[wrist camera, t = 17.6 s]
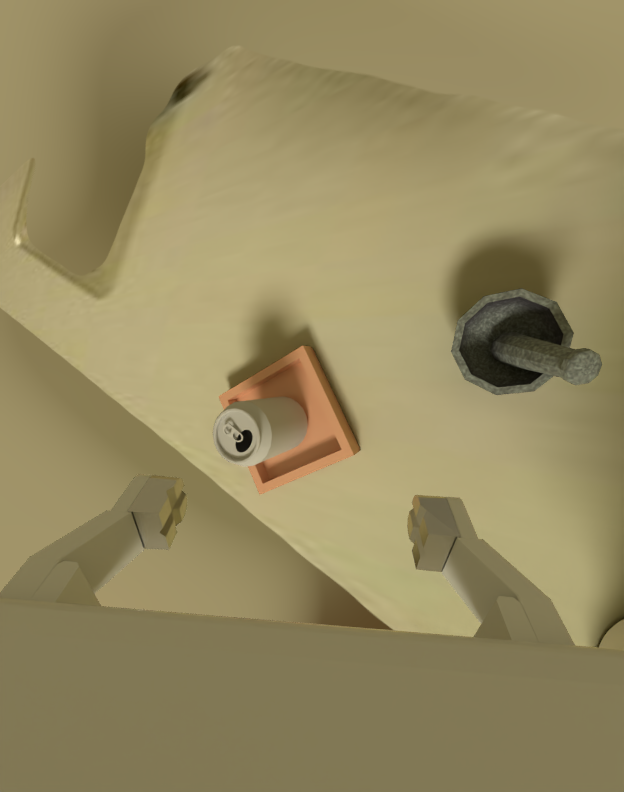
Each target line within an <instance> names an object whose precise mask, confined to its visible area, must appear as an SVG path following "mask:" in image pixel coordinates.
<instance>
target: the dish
mask: <svg viewBox="0 0 624 792" xmlns="http://www.w3.org/2000/svg"><path fill="white" fill-rule="evenodd" d="M282 396H283V397H288V398H291V399H293V400H295V401H296V402H298V403H299V405H300V406H301V407H302V408H303V410H304V412H305V414H306V417H307V424H308V426H307V433H306V435H305V437H304V440H303V441H302V442H301V443H300V444H299V445H298V446H297V447H295V448H293V449H291V450H288V451H286V452H284V453H281V454H279V455H277V456H274V457H272V458H270V459H267V460H265V461H263V462H261V463H258V464H256V465H254V466H248V468H249V470H250V473H251V475H252V477H253V480H254V482H255V484H256V487H257V489H258V492H259V494H262V493H265V492H267V491H269V490H272V489H274V488H277V487H279V486H281V485H284V484H286V483H289V482H291V481H293V480H296V479H298V478H300V477H303V476H305V475H308V474H310V473H312V472H315V471H317V470H319V469H322V468H324V467H327V466H329V465H331V464H334V463H336V462H338V461H341V460H343V459H346V458H348V457H350V456H353V455H355V454H356V453H357V452H359V451H360V448H359V446H358V444H357V442H356V439H355V437H354V435H353V433H352V431H351V429H350V427H349V424H348V422H347V420H346V418H345V416H344V414H343V412H342V410H341V407H340V405H339V403H338V401H337V399H336V397H335V395H334V393H333V390H332V388H331V386H330V384H329V382H328V380H327V378H326V376H325V373H324V371H323V369H322V367H321V365H320V363H319V361H318V358H317V356H316V354H315V352H314V350H313V348H312V347H309V346H304V345H303V346H301V347H299V348H298V349H296V350H294V351H293V352H291V353H289V354H288V355H286V356H284V357H283V358H281V359H280V360H278V361H276V362H275V363H273V364H271V365H270V366H268V367H266V368H265V369H263V370H261V371H260V372H258V373H256V374H255V375H253V376H251V377H250V378H248V379H246V380H245V381H243V382H242V383H240V384H238V385H237V386H235V387H233V388H232V389H230V390H228V391H227V392H225V393H223V394H222V395H220V396H219V399H220V401H221V403H222V406H223V408H224V410H225V408H226V407H227V406H229V405H231V404H232V403H234V402H239V401H246V400H255V399H264V398H273V397H282Z"/></svg>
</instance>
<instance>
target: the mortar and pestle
mask: <svg viewBox="0 0 624 792" xmlns="http://www.w3.org/2000/svg"><path fill="white" fill-rule="evenodd" d="M573 334H574V333H573V331H572V329H571V327H570V325H569V324H568V322H567V320H566V318H565V316H564V314H563V313H562V311H561V309H560V307H559V305H558V304H557V302H555V301H553V300H550V299H547V298H545V297H542V296H540V295H537V294H535V293H532V292H529V291H527V290H524V289H522V288H521V289H517V290H512V291H507V292H502V293H497V294H492V295H487V296H484V297H483V298H482V299H480V300H479V301H478V302H477V303H476V304H475V305H474V306H473V307H472V308H471V309H470V310H469V311H468V312H466V313H465V314H464V315H463V316H462V317H461V318H460V319H459V320H458V323H457V327H456V332H455V336H454V341H453V345H452V350H451V352H452V354H453V356H454V358H455V360H456V362H457V364H458V366H459V368H460V370H461V372H462V374H463V376H464V378H465V380H467V381H469V382H471V383H473V384H475V385H477V386H479V387H481V388H483V389H485V390H487V391H489V392H491V393H493V394H495V395H501V394H511V393H521V392H531V391H535V390H536V389H537V388H539V387H540V386H541V385H543V384H544V383H545V382H547V381H548V380H549V379H550V378H552V377H553V376H557V377H561V378H563V379H564V380H566V381H567V382H569V383H571V384H574V385H580V384H585V383H589V382H590V381H592V380H593V379H594V378H595V377H596V376H598V374H599V371H600V369H601V366H602V363H601V359H600V355H599V354H597V353H596V352H594V351H592V350H590V349H586V348H583V349H576V350H575V349H571V348H570V345H571V341H572V337H573Z"/></svg>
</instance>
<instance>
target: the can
mask: <svg viewBox="0 0 624 792" xmlns="http://www.w3.org/2000/svg"><path fill="white" fill-rule="evenodd" d="M307 426H308V424H307V417H306V414H305V412H304V410H303V408H302V407H301V406H300V405H299V403H298V402H296V401H295V400H293V399H291V398H288V397H283V396H282V397H273V398H264V399H255V400H246V401H239V402H234V403H232V404H231V405H229V406H227V407H226V408H225V410H224V411H223V412H221V414H220V415H219V416H218V417H217V419H216V421H215V424H214V428H213V439H214V444H215V446H216V449H217V451H218V452H219V453H220V455H221V456H222V457H223V458H224V459H226V460H227V461H228V462H231V463H234V464H237V465H240V466H244V467H245V466H254V465H256V464H258V463H261V462H263V461H265V460H267V459H270V458H272V457H274V456H277V455H279V454H281V453H284V452H286V451H288V450H291V449H293V448H295V447H297V446H298V445H299V444H300V443H301V442H302V441H303V440H304V437H305V435H306V433H307Z"/></svg>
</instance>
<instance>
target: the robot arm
mask: <svg viewBox="0 0 624 792" xmlns="http://www.w3.org/2000/svg"><path fill="white" fill-rule="evenodd" d="M183 487H184V482H183V479H182V478H177V477H166V476H157V475H144V474H138V475H137V476H135V477H134V478H133V480H132V481H131V483H130V484H129V486H128V487H127V489H126V490H125V491H124V493H123V494H122V496H121V497H120V498H119V500H118V501H117V503H116V504H115V506H114V507H113V508H112V510H111V511H105V512H103V513H102V514H100V515H98V516H97V517H95V518H93V519H92V520H90V521H88V522H87V523H85V524H83V525H82V526H80V527H78V528H77V529H75V530H74V531H72V532H70V533H68V534H67V535H65V536H64V537H62V538H60V539H59V540H57V541H55V542H54V543H52V544H50V545H49V546H47V547H45V548H44V549H42V550H40V551H39V552H37V553H35V554H34V555H32V556H30V557H29V559H28V560H27V561H26V562H25V563H24V565H23V566H22V567H21V568H20V570H19V571H18V572H17V573H16V574H15V575H14V576H13V578H12V579H11V580H10V581H9V582H8V584H7V585H6V586H5V587H4V588H3V590H2V591H1V592H0V792H624V619H623V620H621V621H620V622H618V623H617V624H615V625H614V626H613V627H612V628H611V629H610V630H609V631H608V632H607V633H606V634H605V636H604V637H603V639H602V641H601V643H600V645H599V648H597V647H585V646H575V644H574V643H573V641H572V639H571V637H570V635H569V633H568V631H567V629H566V627H565V626H564V624H563V622H562V620H561V618H560V616H559V614H558V612H557V611H556V609H555V607H554V605H553V603H552V601H551V599H550V598H549V597H547V596H546V595H545V594H544V593H543V592H542V591H541V590H540V589H538V588H537V587H536V586H535V585H534V584H533V583H532V582H530V581H529V580H528V579H527V578H526V577H525V576H524V575H523V574H521V573H520V572H519V571H518V570H517V569H516V568H515V567H514V566H512V565H511V564H510V563H509V562H508V561H507V560H506V559H504V558H503V557H502V556H501V555H500V554H499V553H498V552H497V551H495V550H494V549H493V548H492V547H491V546H490V545H489V544H488V543H486V542H485V541H484V540H483V539H478V537H477V534H476V532H475V530H474V527H473V525H472V523H471V520H470V518H469V516H468V513H467V511H466V508H465V506H464V504H463V501H462V500H461V499H460V498H454V497H440V496H424V495H415V496H414V498H413V501H412V504H413V509H412V510H411V511H409V515H408V524H407V527H408V534H409V539H410V540H411V541H412V542H413V543H414V546H413V549H412V553H413V557H414V562H415V566H416V569H418V570H428V571H437V572H442V574H443V576H444V577H445V578H446V580H447V581H448V582H449V583H450V585H451V586H452V587H453V588H454V590H455V591H456V592H457V594H458V595H459V596H460V597H461V599H462V600H463V601H464V602H465V604H466V605H467V606H468V608H469V609H470V610H471V611H472V613H473V614H474V615H475V617H476V618H477V619H478V620H479V622H480V623H481V626H480V627H479V629H478V630H477V632H476V634H475V635H474V637H465V636H453V635H441V634H429V633H417V632H405V631H393V630H381V629H369V628H357V627H345V626H332V625H321V624H309V623H298V622H285V621H273V620H260V619H248V618H237V617H223V616H213V615H200V614H189V613H176V612H164V611H153V610H140V609H129V608H117V607H116V608H115V607H104V606H101V605H100V603H99V601H98V599H97V598H96V596H95V593H96V592H97V591H98V590H99V589H100V588H102V587H103V586H104V585H105V584H106V583H107V582H108V581H110V580H111V579H112V578H113V577H114V576H115V575H116V574H117V573H119V572H120V571H121V570H122V569H123V568H124V567H125V566H126V565H127V564H129V563H130V562H131V561H132V560H133V559H134V558H136V557H137V556H138V555H139V554H140V553H141V552H142V551H143V550H144V548H147V549H166V550H168V549H170V547H171V545H172V542H173V540H174V538H175V536H176V534H177V530H176V526H177V525H178V524H179V523H181V522H182V520H183V518H184V516H185V513H186V509H187V496H186V494H185V493H184V492H183V491H182V489H183Z"/></svg>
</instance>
